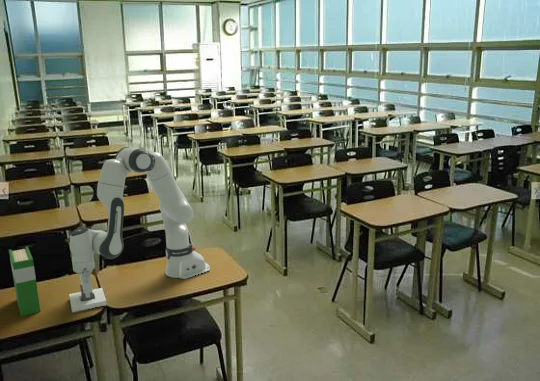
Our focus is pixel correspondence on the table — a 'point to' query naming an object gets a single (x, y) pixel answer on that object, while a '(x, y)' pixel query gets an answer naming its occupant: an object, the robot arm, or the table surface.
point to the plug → (85, 296)
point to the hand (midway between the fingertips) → (87, 294)
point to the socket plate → (81, 305)
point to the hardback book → (24, 281)
